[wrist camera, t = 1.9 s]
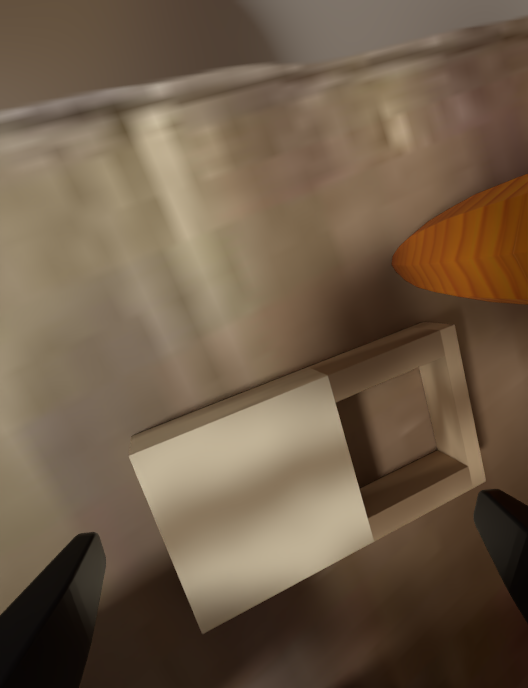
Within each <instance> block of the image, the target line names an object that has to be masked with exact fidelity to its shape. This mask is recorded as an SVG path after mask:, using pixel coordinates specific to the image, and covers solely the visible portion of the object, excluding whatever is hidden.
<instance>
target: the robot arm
mask: <svg viewBox="0 0 528 688" xmlns="http://www.w3.org/2000/svg"><path fill="white" fill-rule="evenodd" d="M474 522H475V525H476V527H477V530H478V532H479V534H480V536H481V538H482V540H483V542H484V544H485V546H486V548H487V550H488V552H489V554H490V556H491V558H492V560H493V562H494V564H495V566H496V568H497V570H498V572H499V574H500V576H501V578H502V580H503V582H504V584H505V586H506V588H507V590H508V592H509V593H510V595H511V597H512V598H513V600H514V602H515V604H516V605H517V607H518V609H519V610H520V612H521V613H522V615H523V617H524V618H525V620H526V622H527V623H528V506H527V505H525V504H524V503H522V502H520V501H518V500H517V499H515V498H513V497H512V496H510V495H508V494H506V493H505V492H503V491H501V490H499V489H488V490H482V491H480V492H479V494H478V497H477V502H476V506H475V510H474ZM105 568H106V557H105V553H104V550H103V547H102V543H101V540H100V537H99V535H98V533H96V532H90V533H81V534H78V535H77V536H75V537H74V538H73V539H72V540H71V541H70V543H69V544H68V545H67V546H66V547H65V548H64V549H63V550H62V551H61V552H60V553H59V554H58V555H57V556H56V557H55V558H54V559H53V560H52V561H51V562H50V564H49V565H48V566H47V567H46V568H45V569H44V570H43V571H42V572H41V573H40V574H39V575H38V576H37V577H36V578H35V579H34V580H33V581H32V582H31V583H30V585H29V586H28V587H27V588H26V589H25V590H24V591H23V592H22V593H21V594H20V595H19V596H18V597H17V598H16V599H15V600H14V601H13V602H12V603H11V605H10V606H9V607H8V608H7V609H6V610H5V611H4V612H3V613H2V614H1V615H0V688H79V685H80V681H81V678H82V674H83V671H84V668H85V664H86V661H87V657H88V653H89V649H90V646H91V641H92V636H93V632H94V626H95V621H96V616H97V610H98V605H99V600H100V595H101V589H102V584H103V579H104V573H105Z"/></svg>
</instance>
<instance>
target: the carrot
mask: <svg viewBox="0 0 528 688" xmlns="http://www.w3.org/2000/svg"><path fill="white" fill-rule="evenodd" d="M392 266H393V268H394V269H395V271H396V272H397V273H398V274H399V275H400V276H401V277H402V278H403V279H404V280H406V281H407V282H409V283H411V284H413V285H414V286H416V287H418V288H422V289H426V290H430V291H433V292H438V293H443V294H448V295H453V296H458V297H464V298H470V299H476V300H482V301H488V302H499V303H513V304H527V305H528V174H526V175H523V176H520V177H518V178H515V179H513V180H510V181H508V182H505V183H503V184H500V185H497V186H495V187H492V188H490V189H487V190H485V191H482V192H480V193H477V194H475V195H473V196H471V197H470V198H468V199H466V200H464V201H462V202H460V203H459V204H457V205H455V206H453V207H451V208H449V209H448V210H446V211H445V212H443V213H441V214H440V215H438V216H436V217H435V218H433V219H431V220H430V221H428V222H427V223H426V224H425V225H423V226H422V227H421V228H420V229H419V230H417V231H416V232H415V233H414V234H413V235H412V236H410V237H409V238H408V239H407V240H406V241H405V242H404V243H403V244H401V245H400V246H399V248H398V249H397V251H396V252H395V254H394V255H393V258H392Z"/></svg>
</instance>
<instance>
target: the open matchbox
mask: <svg viewBox="0 0 528 688" xmlns="http://www.w3.org/2000/svg"><path fill="white" fill-rule="evenodd" d="M418 367H419V369H420V374H421V378H422V383H423V387H424V392H425V396H426V400H427V405H428V409H429V414H430V418H431V423H432V427H433V431H434V436H435V440H436V445H437V449H438V450H437V451H435V452H433V453H431V454H429V455H427V456H425V457H423V458H421V459H419V460H417V461H415V462H413V463H411V464H409V465H407V466H405V467H403V468H401V469H399V470H396V471H394V472H392V473H390V474H388V475H386V476H384V477H382V478H380V479H378V480H376V481H374V482H372V483H370V484H368V485H366V486H364V487H362V488H360V489H359V486H358V482H357V479H356V475H355V471H354V468H353V464H352V461H351V457H350V453H349V450H348V446H347V443H346V439H345V436H344V432H343V428H342V425H341V421H340V418H339V414H338V410H337V407H336V402H338V401H340V400H343V399H345V398H348V397H350V396H352V395H355V394H357V393H359V392H362V391H364V390H366V389H369V388H371V387H373V386H376V385H378V384H380V383H383V382H385V381H388V380H390V379H392V378H395V377H397V376H399V375H402V374H404V373H406V372H409V371H411V370H413V369H416V368H418ZM129 458H130V460H131V463H132V465H133V468H134V470H135V473H136V475H137V477H138V480H139V482H140V485H141V487H142V489H143V492H144V494H145V497H146V499H147V502H148V504H149V506H150V509H151V511H152V514H153V516H154V519H155V521H156V523H157V526H158V528H159V531H160V533H161V536H162V538H163V540H164V543H165V545H166V548H167V550H168V553H169V555H170V557H171V560H172V562H173V565H174V567H175V569H176V572H177V574H178V577H179V579H180V582H181V584H182V586H183V589H184V591H185V594H186V596H187V599H188V601H189V603H190V606H191V608H192V611H193V613H194V616H195V618H196V620H197V623H198V625H199V628H200V630H201V633H202V634H204V633H206V632H207V631H209V630H211V629H213V628H215V627H217V626H219V625H220V624H222V623H224V622H226V621H228V620H230V619H232V618H233V617H235V616H237V615H239V614H241V613H243V612H245V611H246V610H248V609H250V608H252V607H254V606H256V605H257V604H259V603H261V602H263V601H265V600H267V599H269V598H270V597H272V596H274V595H276V594H278V593H280V592H282V591H283V590H285V589H287V588H289V587H291V586H293V585H295V584H296V583H298V582H300V581H302V580H304V579H306V578H308V577H309V576H311V575H313V574H315V573H317V572H319V571H320V570H322V569H324V568H326V567H328V566H330V565H332V564H333V563H335V562H337V561H339V560H341V559H343V558H345V557H346V556H348V555H350V554H352V553H354V552H356V551H358V550H359V549H361V548H363V547H365V546H367V545H369V544H371V543H372V542H374V541H376V540H378V539H380V538H382V537H383V536H385V535H387V534H389V533H391V532H393V531H395V530H396V529H398V528H400V527H402V526H404V525H406V524H408V523H409V522H411V521H413V520H415V519H417V518H419V517H421V516H422V515H424V514H426V513H428V512H430V511H432V510H434V509H435V508H437V507H439V506H441V505H443V504H445V503H446V502H448V501H450V500H452V499H454V498H456V497H458V496H459V495H461V494H463V493H465V492H467V491H469V490H471V489H472V488H474V487H476V486H478V485H480V484H482V483H484V482H485V481H486V479H485V474H484V469H483V464H482V459H481V454H480V449H479V444H478V439H477V434H476V429H475V424H474V419H473V414H472V409H471V404H470V399H469V394H468V389H467V384H466V379H465V374H464V369H463V364H462V359H461V354H460V349H459V344H458V339H457V334H456V329H455V324H443V323H431V322H422V323H419V324H417V325H414V326H411V327H409V328H406V329H404V330H401V331H399V332H396V333H394V334H391V335H388V336H386V337H383V338H381V339H378V340H376V341H373V342H371V343H368V344H366V345H363V346H360V347H358V348H355V349H353V350H350V351H348V352H345V353H343V354H340V355H337V356H335V357H332V358H330V359H327V360H325V361H322V362H320V363H317V364H314V365H312V366H309V367H307V368H304V369H302V370H299V371H297V372H294V373H291V374H289V375H286V376H284V377H281V378H279V379H276V380H274V381H271V382H269V383H266V384H263V385H261V386H258V387H256V388H253V389H251V390H248V391H246V392H243V393H240V394H238V395H235V396H233V397H230V398H228V399H225V400H223V401H220V402H217V403H215V404H212V405H210V406H207V407H205V408H202V409H200V410H197V411H195V412H192V413H189V414H187V415H184V416H182V417H179V418H177V419H174V420H172V421H169V422H166V423H164V424H161V425H159V426H156V427H154V428H151V429H149V430H146V431H143V432H141V433H138V434H136V435H133V436H132V437H131V443H130V450H129Z"/></svg>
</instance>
